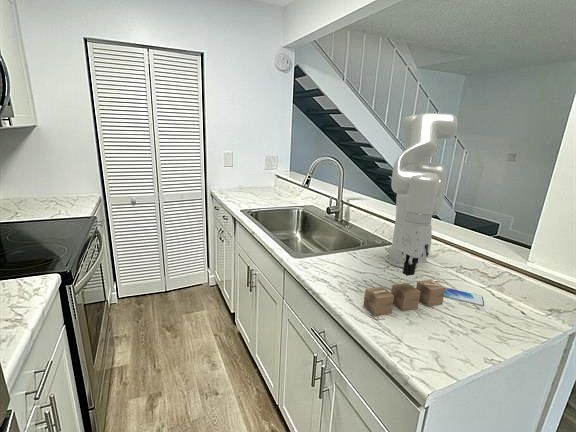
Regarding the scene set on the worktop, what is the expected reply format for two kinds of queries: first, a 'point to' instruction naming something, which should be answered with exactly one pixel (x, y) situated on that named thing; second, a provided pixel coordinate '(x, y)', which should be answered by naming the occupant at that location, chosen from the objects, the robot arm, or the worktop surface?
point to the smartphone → (464, 296)
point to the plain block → (405, 296)
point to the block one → (378, 301)
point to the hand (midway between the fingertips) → (408, 274)
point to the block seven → (430, 292)
